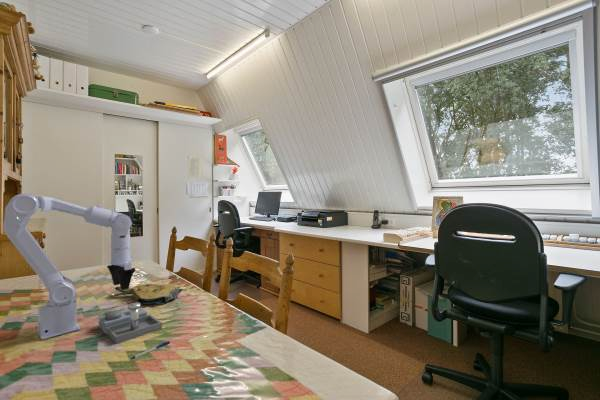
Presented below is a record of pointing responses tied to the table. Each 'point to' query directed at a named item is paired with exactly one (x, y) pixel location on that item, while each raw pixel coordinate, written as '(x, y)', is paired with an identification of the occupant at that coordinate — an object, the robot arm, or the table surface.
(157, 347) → the ballpoint pen
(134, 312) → the lock pin
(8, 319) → the table surface
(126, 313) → the block
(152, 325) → the tray
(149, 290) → the pulley block
